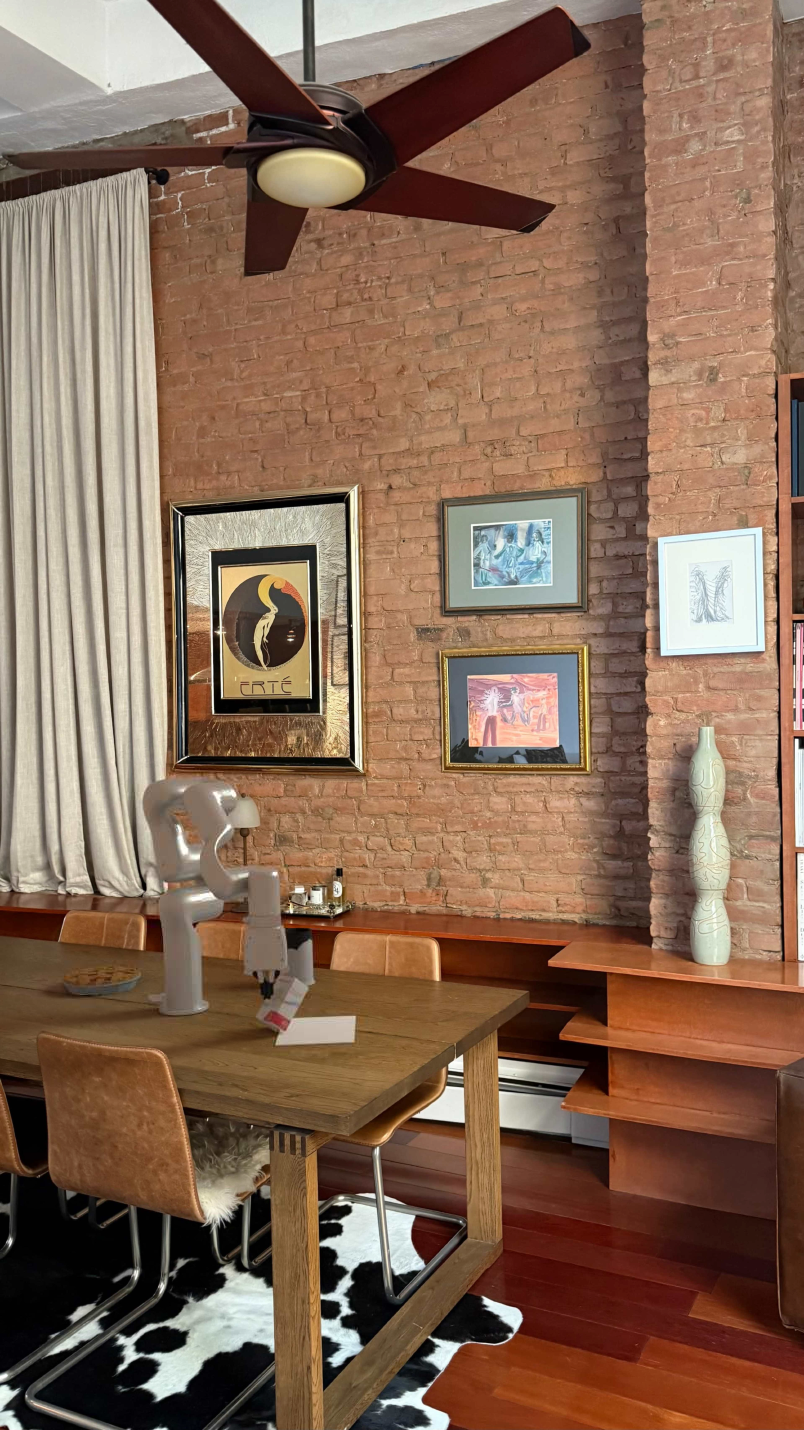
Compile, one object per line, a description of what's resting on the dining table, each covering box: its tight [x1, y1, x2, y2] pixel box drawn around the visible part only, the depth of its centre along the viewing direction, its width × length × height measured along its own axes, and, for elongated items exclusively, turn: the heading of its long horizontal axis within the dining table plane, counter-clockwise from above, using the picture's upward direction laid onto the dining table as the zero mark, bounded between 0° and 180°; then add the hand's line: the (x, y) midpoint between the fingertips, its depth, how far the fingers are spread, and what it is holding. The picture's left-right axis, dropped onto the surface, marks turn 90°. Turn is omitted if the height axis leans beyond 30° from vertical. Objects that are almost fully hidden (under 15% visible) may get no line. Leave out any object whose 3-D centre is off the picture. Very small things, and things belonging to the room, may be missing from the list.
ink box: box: [255, 974, 310, 1031], centre depth 263 cm, size 9×5×12 cm
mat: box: [275, 1015, 357, 1047], centre depth 261 cm, size 18×22×1 cm
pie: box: [61, 964, 142, 995], centre depth 311 cm, size 22×22×5 cm
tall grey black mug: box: [284, 927, 316, 987], centre depth 311 cm, size 9×14×15 cm, turn 58°
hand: (267, 998), depth 261 cm, fingers closed
